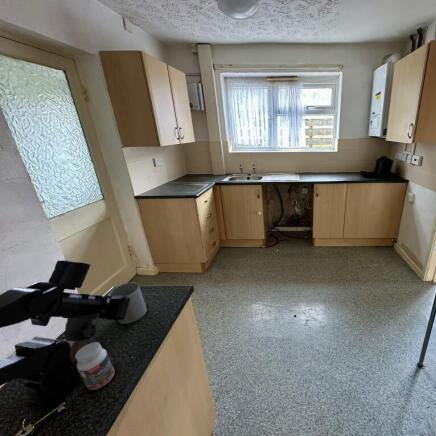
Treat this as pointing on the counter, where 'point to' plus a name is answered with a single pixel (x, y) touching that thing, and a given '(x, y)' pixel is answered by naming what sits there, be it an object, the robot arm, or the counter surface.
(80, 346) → the walnut block
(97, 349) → the pill bottle
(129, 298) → the robot arm
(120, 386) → the counter surface
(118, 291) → the cup
